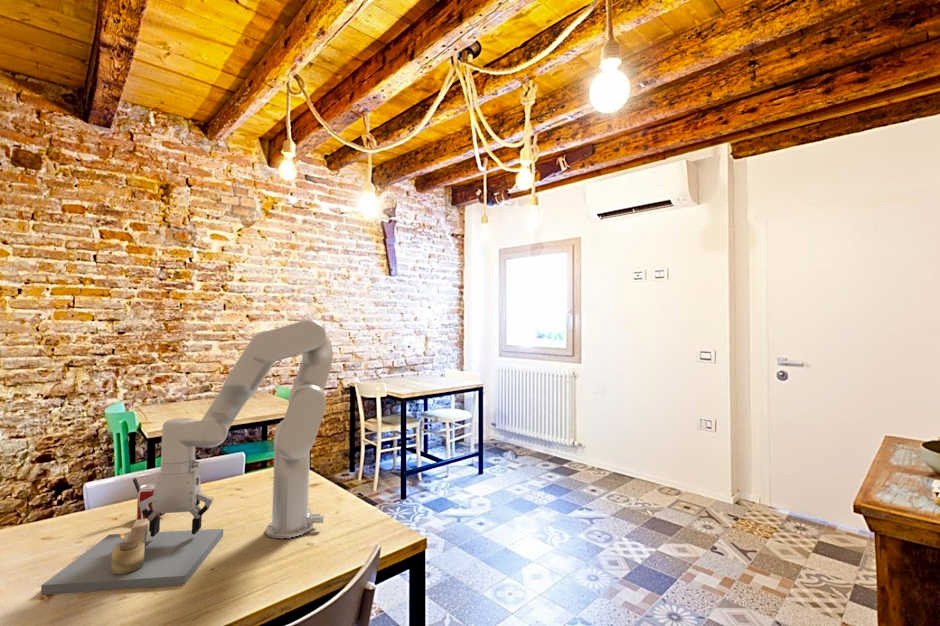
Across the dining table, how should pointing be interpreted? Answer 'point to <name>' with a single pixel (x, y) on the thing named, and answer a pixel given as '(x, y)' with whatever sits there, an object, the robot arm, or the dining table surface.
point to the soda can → (143, 494)
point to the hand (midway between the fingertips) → (175, 533)
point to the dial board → (164, 565)
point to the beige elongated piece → (131, 549)
